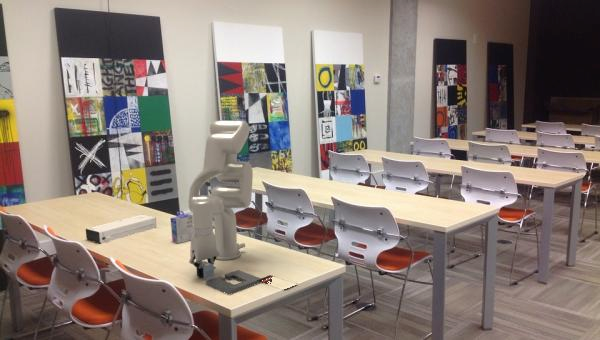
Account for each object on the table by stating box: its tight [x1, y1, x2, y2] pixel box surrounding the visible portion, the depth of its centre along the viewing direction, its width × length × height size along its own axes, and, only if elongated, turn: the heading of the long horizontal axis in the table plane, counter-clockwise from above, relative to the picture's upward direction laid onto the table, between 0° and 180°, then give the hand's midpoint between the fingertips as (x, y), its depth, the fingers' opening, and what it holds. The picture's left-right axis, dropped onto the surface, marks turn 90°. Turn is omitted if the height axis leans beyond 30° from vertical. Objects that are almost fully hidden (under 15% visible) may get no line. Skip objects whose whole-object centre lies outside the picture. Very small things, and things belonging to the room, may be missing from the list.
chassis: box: [205, 269, 263, 295], centre depth 198 cm, size 16×14×2 cm
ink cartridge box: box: [170, 210, 194, 244], centre depth 253 cm, size 10×6×14 cm, turn 137°
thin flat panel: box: [261, 274, 298, 291], centre depth 199 cm, size 7×1×15 cm
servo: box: [195, 260, 217, 280], centre depth 207 cm, size 4×9×6 cm, turn 46°
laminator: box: [85, 214, 157, 244], centre depth 266 cm, size 34×12×6 cm, turn 144°
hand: (205, 274), depth 207 cm, fingers closed on servo, 4 cm apart
